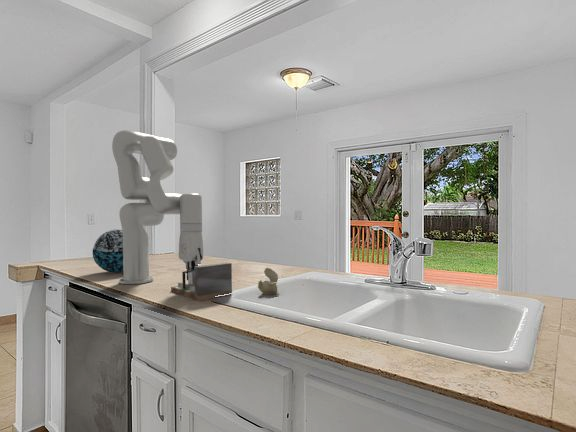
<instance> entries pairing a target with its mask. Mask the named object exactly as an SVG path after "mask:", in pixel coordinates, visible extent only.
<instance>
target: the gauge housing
mask: <svg viewBox="0 0 576 432" xmlns="http://www.w3.org/2000/svg"><path fill="white" fill-rule="evenodd" d="M232 267H233V266H232V263H231V262H219V263H218V262H217V263H211V264H203V265H198V266H194V273H195V286H191V285H188V283H185V286H186V288H185V289H183V282H178V283H177V285H175V286H170V292H173V293H174V294H175V293H176V294H178V295H180V296H184V297H187V298H189V299H192V300H196V301H198V302H202V301H206V300H208V301H209V300H212V298H213V297H215V296H218V295H224V294H229V293H232V294H233V283H232V282H233V278H232V277H233V276H232V275H233V273H232V272H233V271H232ZM213 299H214V298H213Z"/></svg>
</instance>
